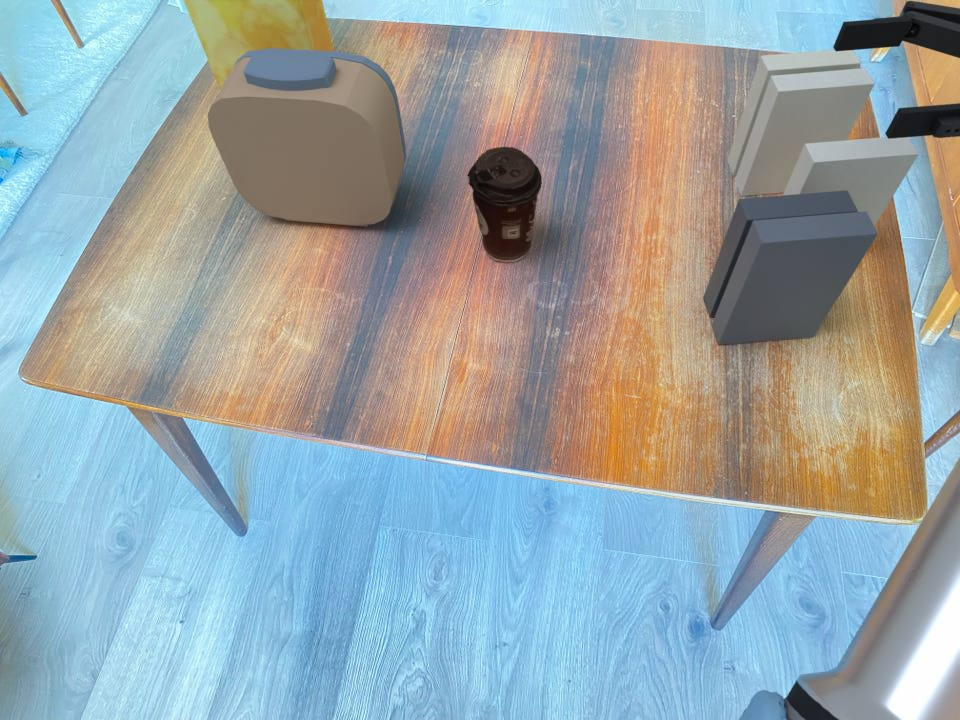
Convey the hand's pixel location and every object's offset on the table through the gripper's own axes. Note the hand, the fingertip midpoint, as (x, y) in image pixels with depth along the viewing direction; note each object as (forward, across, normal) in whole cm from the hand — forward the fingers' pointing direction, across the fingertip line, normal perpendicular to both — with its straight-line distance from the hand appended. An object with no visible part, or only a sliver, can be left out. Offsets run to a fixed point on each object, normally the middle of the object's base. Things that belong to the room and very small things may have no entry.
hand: (864, 77), depth 65 cm
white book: (-3, 0, -25) cm, 25 cm away
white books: (-3, +14, -25) cm, 29 cm away
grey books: (+6, -9, -25) cm, 27 cm away
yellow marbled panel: (+66, +45, -25) cm, 84 cm away
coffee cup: (+34, +5, -25) cm, 43 cm away
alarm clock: (+57, +15, -25) cm, 64 cm away
